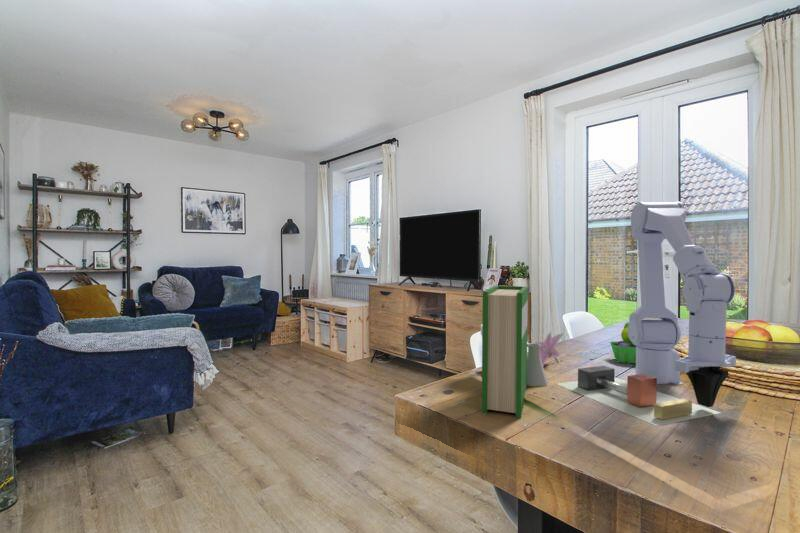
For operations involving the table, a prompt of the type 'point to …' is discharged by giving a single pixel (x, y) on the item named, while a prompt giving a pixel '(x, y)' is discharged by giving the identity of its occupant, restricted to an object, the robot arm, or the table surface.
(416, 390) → the table surface
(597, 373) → the eye bracket
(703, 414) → the board
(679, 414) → the keeper bar
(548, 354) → the lily
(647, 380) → the mallet
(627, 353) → the fruit basket
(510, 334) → the hardback book
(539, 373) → the flask
